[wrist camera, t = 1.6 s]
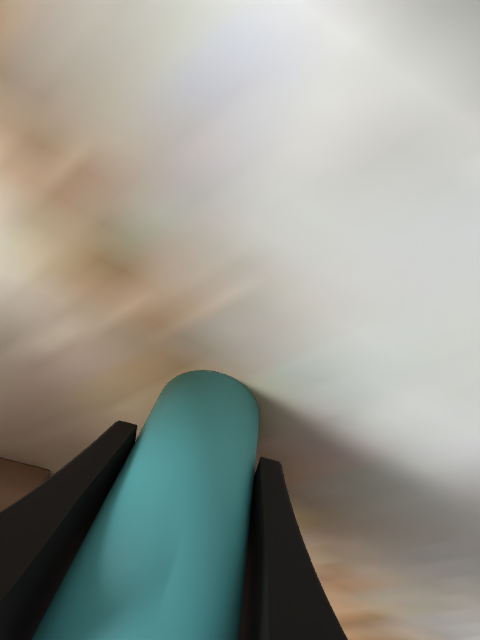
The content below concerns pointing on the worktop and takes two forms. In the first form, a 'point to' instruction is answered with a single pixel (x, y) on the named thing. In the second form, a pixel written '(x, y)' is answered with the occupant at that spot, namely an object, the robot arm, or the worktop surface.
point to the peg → (169, 525)
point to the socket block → (18, 481)
